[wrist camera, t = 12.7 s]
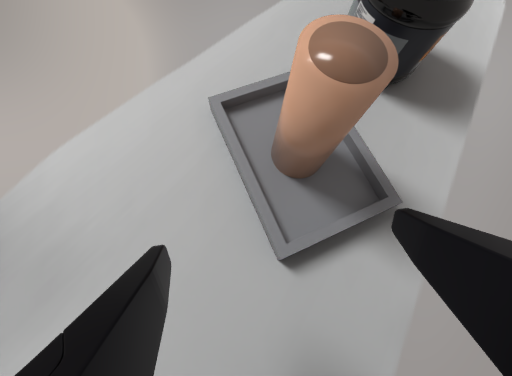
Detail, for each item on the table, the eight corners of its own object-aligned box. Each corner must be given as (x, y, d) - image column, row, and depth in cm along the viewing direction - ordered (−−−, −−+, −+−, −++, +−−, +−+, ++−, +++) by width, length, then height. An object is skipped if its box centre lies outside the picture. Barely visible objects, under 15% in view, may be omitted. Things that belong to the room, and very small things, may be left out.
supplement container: (422, 48, 31) (526, -75, 20) (395, 103, 28) (500, -7, 17) (352, 16, 32) (411, -119, 21) (319, 64, 29) (368, -62, 18)
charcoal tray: (390, 207, 24) (402, 202, 22) (277, 259, 22) (281, 259, 20) (309, 77, 28) (314, 63, 27) (210, 109, 26) (208, 97, 24)
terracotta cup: (327, 176, 24) (411, 91, 12) (273, 180, 23) (305, 94, 11) (318, 129, 25) (384, 13, 14) (268, 132, 25) (291, 13, 13)
